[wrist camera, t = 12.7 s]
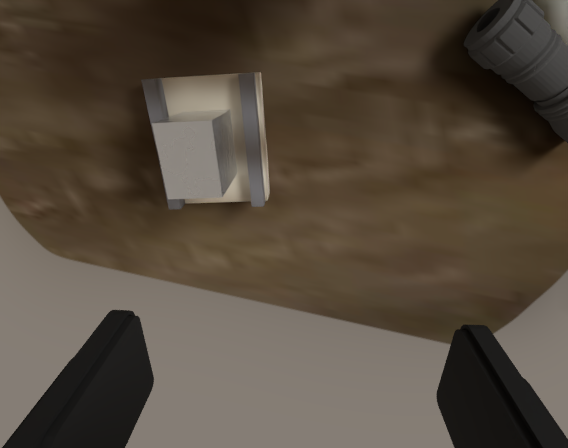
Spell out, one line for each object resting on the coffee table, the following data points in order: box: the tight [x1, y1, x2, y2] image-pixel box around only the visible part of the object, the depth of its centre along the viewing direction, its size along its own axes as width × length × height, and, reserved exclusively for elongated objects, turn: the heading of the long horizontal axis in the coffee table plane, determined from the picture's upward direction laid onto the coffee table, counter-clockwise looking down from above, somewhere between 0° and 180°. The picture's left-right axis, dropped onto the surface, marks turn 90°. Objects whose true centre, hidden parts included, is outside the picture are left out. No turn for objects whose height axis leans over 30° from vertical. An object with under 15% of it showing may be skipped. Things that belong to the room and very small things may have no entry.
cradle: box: [141, 72, 270, 209], centre depth 33 cm, size 12×10×4 cm
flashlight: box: [464, 0, 568, 143], centre depth 29 cm, size 15×5×5 cm, turn 56°
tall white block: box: [152, 109, 238, 199], centre depth 29 cm, size 6×4×7 cm
